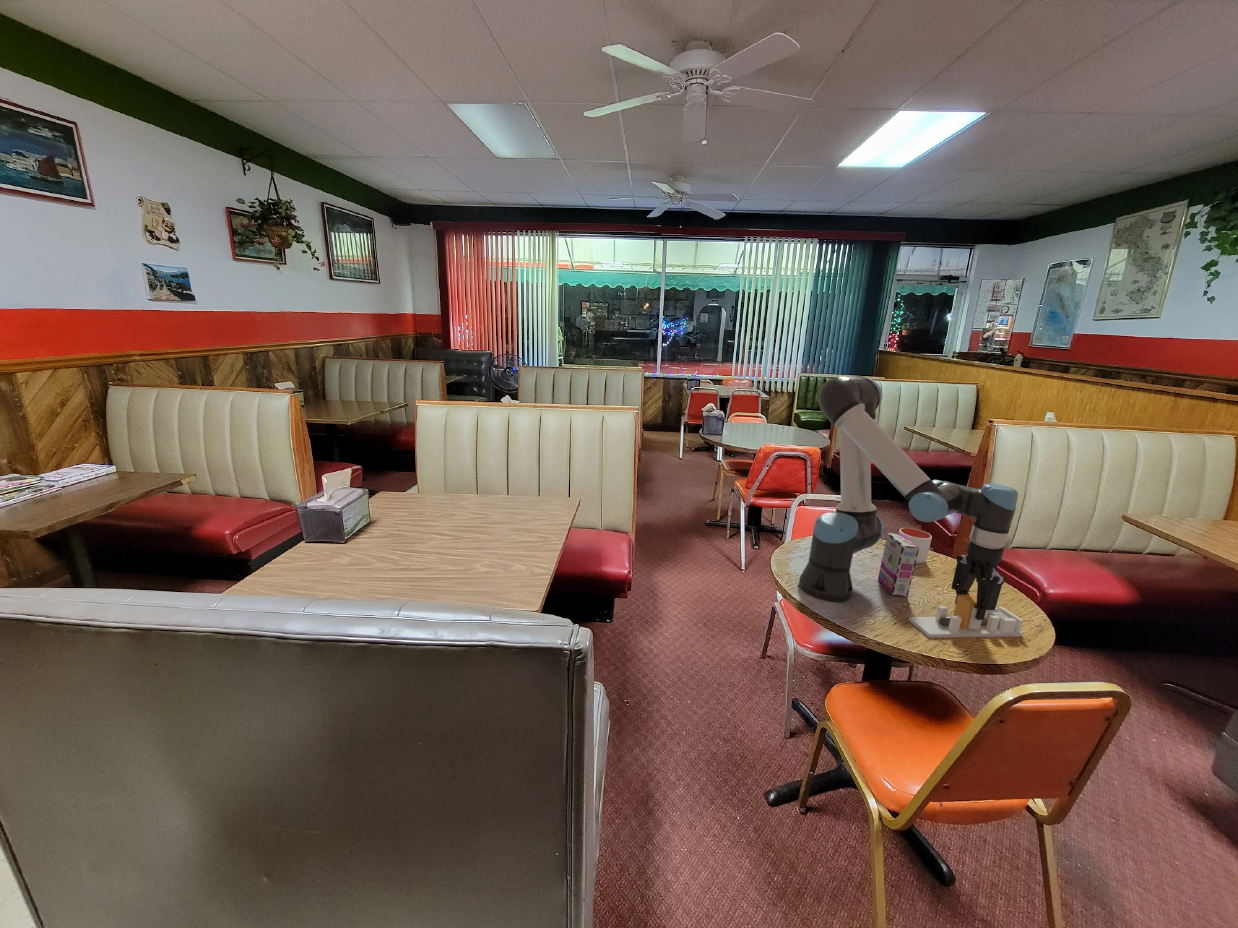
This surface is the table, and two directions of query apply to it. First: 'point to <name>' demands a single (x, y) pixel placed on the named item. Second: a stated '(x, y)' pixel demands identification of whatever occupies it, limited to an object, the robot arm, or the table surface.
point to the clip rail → (935, 629)
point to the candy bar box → (898, 564)
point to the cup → (918, 542)
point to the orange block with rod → (968, 612)
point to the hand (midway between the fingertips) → (965, 622)
